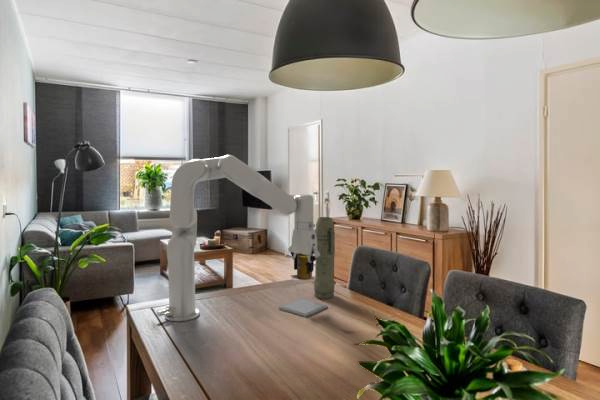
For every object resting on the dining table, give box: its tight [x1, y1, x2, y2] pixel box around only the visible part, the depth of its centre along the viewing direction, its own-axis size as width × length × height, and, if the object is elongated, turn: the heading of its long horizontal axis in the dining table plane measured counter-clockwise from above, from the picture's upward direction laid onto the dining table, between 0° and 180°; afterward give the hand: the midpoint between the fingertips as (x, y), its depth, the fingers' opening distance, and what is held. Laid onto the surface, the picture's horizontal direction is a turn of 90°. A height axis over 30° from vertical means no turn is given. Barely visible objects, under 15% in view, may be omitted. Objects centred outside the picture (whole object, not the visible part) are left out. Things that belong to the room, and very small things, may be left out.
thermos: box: [313, 216, 336, 300], centre depth 169 cm, size 9×12×35 cm
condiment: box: [290, 253, 315, 281], centre depth 153 cm, size 7×8×12 cm
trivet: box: [278, 298, 329, 318], centre depth 154 cm, size 14×14×1 cm
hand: (303, 270), depth 153 cm, fingers closed on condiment, 6 cm apart
